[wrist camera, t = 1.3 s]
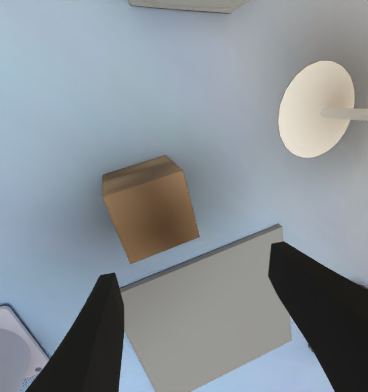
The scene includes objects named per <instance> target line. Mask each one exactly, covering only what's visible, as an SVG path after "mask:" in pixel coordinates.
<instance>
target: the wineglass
mask: <svg viewBox="0 0 368 392" xmlns="http://www.w3.org/2000/svg"><path fill="white" fill-rule="evenodd" d="M354 104H355V100H354V87H353V83H352V80H351V77H350V75H349V74H348V73H347V71H346V70H345V69H344V67H343V66H341V65H339V64H337V63H335V62H333V61H319V62H316V63H313V64H311V65H308V66H307V67H305V68H304V69H303V70H302V71H301V72H300V73H298V74H297V75H296V76H295V77H294V79H293V80H292V82H291V83H290V85H289V86H288V88H287V89H286V91H285V94H284V96H283V99H282V102H281V104H280V110H279V118H278V125H279V131H280V137H281V139H282V141H283V143H284V145H285V146H286V148H287V149H288V150H290V151H291V152H292V153H293V154H294V155H297V156H300V157H303V158H309V157H316V156H319V155H321V154H323V153H325V152H327V151H328V150H329V149H331V148H332V147H333V146H334V145H335V144H337V142H338V141H339V140H340V138H341V137H342V136H343V134H344V133H345V131H346V129H347V127H348V125H349V122H350V120H364V121H368V109H359V108H354Z"/></svg>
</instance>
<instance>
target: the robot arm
mask: <svg viewBox="0 0 368 392" xmlns="http://www.w3.org/2000/svg"><path fill="white" fill-rule="evenodd" d="M268 277H269V279H270V281H271V284H272V286H273V288H274V290H275V292H276V294H277V296H278V297H279V299H280V300H281V302H282V304H283V305H284V307H285V308H286V310H287V311H288V313H289V314H290V316H291V317H292V319H293V320H294V322H295V323H296V325H297V326H298V328H299V330H300V331H301V333H302V334H303V336H304V337H305V339H306V340H307V342H308V343H309V345H310V347H311V348H312V350H313V352H314V353H315V355H316V357H317V359H318V361H319V363H320V364H321V366H322V368H323V370H324V372H325V374H326V376H327V377H328V379H329V381H330V383H331V385H332V387H333V389H334V391H335V392H368V289H366V288H364V287H362V286H360V285H358V284H356V283H354V282H352V281H350V280H349V279H347V278H345V277H343V276H341V275H339V274H337V273H336V272H334V271H332V270H330V269H329V268H327V267H325V266H324V265H322V264H320V263H318V262H317V261H315V260H314V259H312V258H310V257H309V256H307V255H305V254H304V253H302V252H300V251H299V250H297V249H296V248H294V247H292V246H291V245H289V244H287V243H285V242H284V241H283V242H277V243H272V244H271V251H270V260H269V270H268ZM123 339H124V303H123V299H122V296H121V292H120V288H119V285H118V281H117V278H116V274H115V273H110V274H105V275H100V277H99V278H98V280H97V282H96V284H95V286H94V288H93V290H92V292H91V294H90V296H89V297H88V299H87V301H86V303H85V305H84V306H83V308H82V310H81V312H80V313H79V315H78V317H77V318H76V320H75V322H74V324H73V325H72V327H71V328H70V330H69V331H68V333H67V334H66V336H65V338H64V339H63V341H62V342H61V344H60V345H59V347H58V348H57V350H56V351H55V353H54V354H53V355H52V357H51V358H50V360H49V358H48V357H47V356H46V354H45V353H44V352H43V350H42V349H41V348H40V346H39V345H38V344H37V342H36V341H35V340H34V338H33V337H32V336H31V334H30V333H29V332H28V331H27V329H26V328H25V327H24V325H23V324H22V323H21V321H20V320H19V319H18V317H17V316H16V315H15V313H14V312H13V311H12V309H11V308H10V307H8V306H0V392H21V389H22V386H23V382H24V380H25V379H27V378H29V377H31V376H34V375H36V374H38V373H39V375H38V376H37V377H36V378H35V380H34V381H33V382H32V383H31V385H30V386H29V387H28V388H27V390H26V391H25V392H118V391H119V379H120V369H121V359H122V349H123Z"/></svg>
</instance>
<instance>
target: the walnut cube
mask: <svg viewBox="0 0 368 392" xmlns="http://www.w3.org/2000/svg"><path fill="white" fill-rule="evenodd" d="M102 198H103V200H104V202H105V205H106V207H107V210H108V212H109V214H110V217H111V219H112V221H113V224H114V226H115V229H116V231H117V233H118V236H119V238H120V240H121V243H122V245H123V248H124V250H125V252H126V255H127V257H128V259H129V262H130V264H132V263H134V262H137V261H139V260H142V259H145V258H147V257H150V256H152V255H155V254H157V253H160V252H162V251H165V250H168V249H170V248H173V247H175V246H178V245H180V244H183V243H185V242H188V241H190V240H193V239H196V238H198V237H200V235H199V232H198V228H197V224H196V220H195V216H194V212H193V208H192V204H191V200H190V196H189V192H188V188H187V184H186V180H185V176H184V172H183V170H182V169H181V168H180V167H178V166H177V165H176V164H175V163H174V162H172V161H171V160H170V159H169V158H168V157H167V156H165V155H164V156H161V157H158V158H155V159H151V160H148V161H145V162H142V163H139V164H136V165H132V166H129V167H126V168H123V169H120V170H117V171H114V172H110V173H107V174H104V175H103V188H102Z"/></svg>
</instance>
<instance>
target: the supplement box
mask: <svg viewBox="0 0 368 392" xmlns="http://www.w3.org/2000/svg"><path fill="white" fill-rule="evenodd" d="M246 1H248V0H129V4H130V5H134V6H144V7H155V8H168V9H181V10H194V11H208V12H222V13H232V12H233V11H234V10H235V9H237V8H238V7H239V6H241V5H242V4H244V3H245V2H246Z"/></svg>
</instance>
